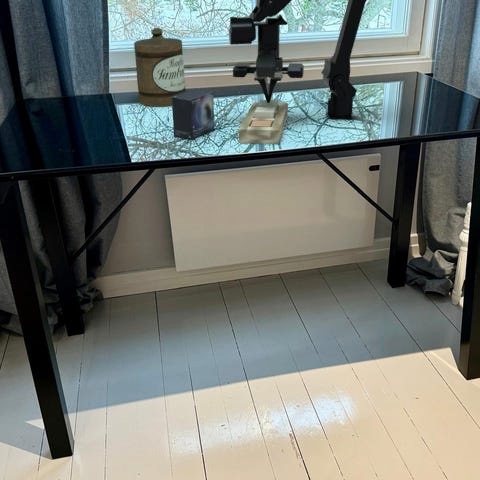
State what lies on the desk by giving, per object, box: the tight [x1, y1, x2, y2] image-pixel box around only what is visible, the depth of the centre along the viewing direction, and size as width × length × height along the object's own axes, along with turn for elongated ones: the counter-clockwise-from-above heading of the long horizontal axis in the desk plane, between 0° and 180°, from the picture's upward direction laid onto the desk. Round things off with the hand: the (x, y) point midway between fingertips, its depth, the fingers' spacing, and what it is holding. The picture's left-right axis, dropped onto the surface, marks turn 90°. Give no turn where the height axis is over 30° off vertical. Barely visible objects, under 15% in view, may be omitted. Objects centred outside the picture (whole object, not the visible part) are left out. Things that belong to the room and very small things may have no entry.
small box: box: [171, 88, 215, 140], centre depth 146 cm, size 11×6×10 cm, turn 148°
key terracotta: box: [251, 120, 272, 127], centre depth 143 cm, size 5×5×2 cm
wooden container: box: [133, 27, 187, 108], centre depth 174 cm, size 15×15×22 cm
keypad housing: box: [238, 101, 289, 145], centre depth 150 cm, size 10×26×4 cm, turn 171°
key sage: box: [258, 99, 279, 111], centre depth 156 cm, size 5×5×2 cm
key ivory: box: [254, 107, 275, 119], centre depth 149 cm, size 5×5×2 cm
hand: (268, 102), depth 155 cm, fingers closed
